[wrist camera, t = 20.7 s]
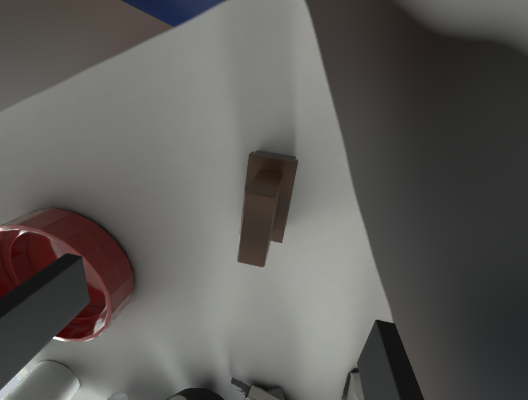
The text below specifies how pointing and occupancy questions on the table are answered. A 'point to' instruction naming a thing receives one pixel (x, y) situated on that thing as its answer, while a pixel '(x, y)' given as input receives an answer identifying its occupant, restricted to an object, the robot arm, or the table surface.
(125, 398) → the pill bottle
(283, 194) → the brown block stand
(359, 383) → the decorative ornament
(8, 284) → the bowl
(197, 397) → the toy
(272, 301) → the table surface
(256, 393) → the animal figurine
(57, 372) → the cup
